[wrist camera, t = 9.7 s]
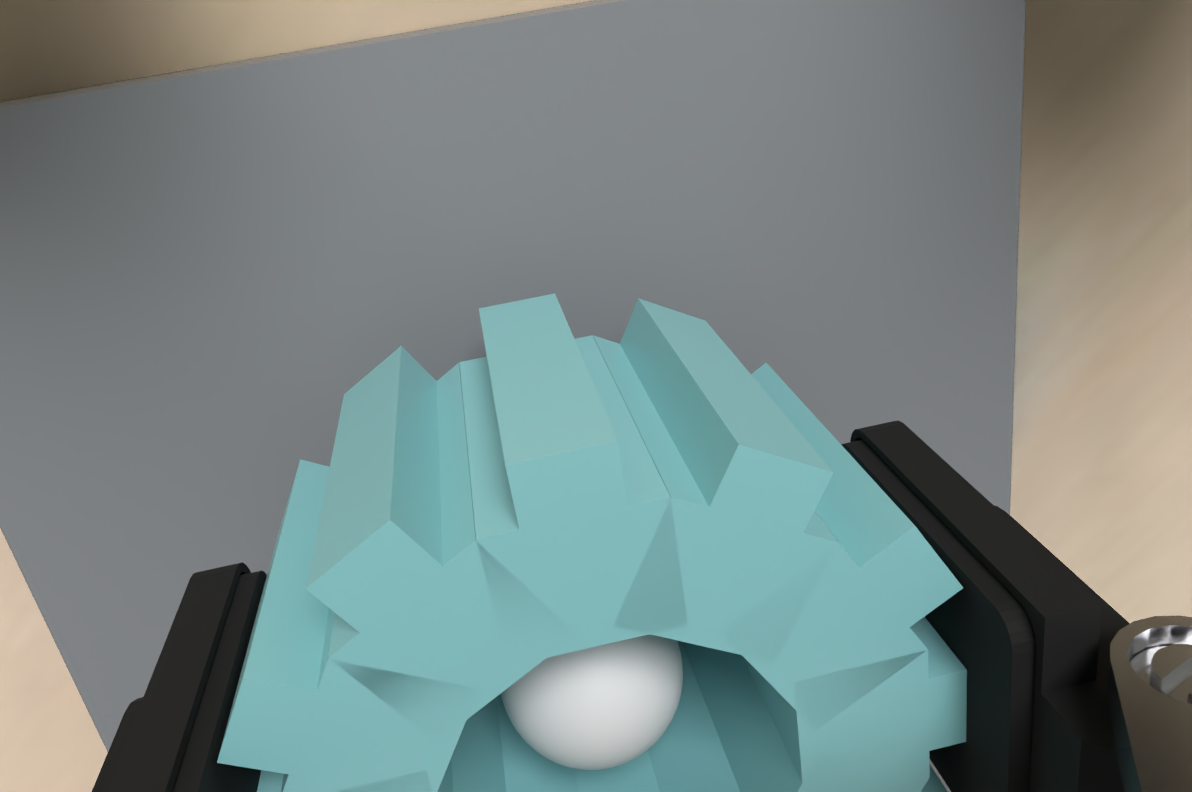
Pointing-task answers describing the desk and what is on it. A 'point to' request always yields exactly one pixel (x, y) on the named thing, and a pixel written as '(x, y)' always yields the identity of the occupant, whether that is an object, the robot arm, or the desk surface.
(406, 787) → the gear
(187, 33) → the desk surface
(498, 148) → the gear board
